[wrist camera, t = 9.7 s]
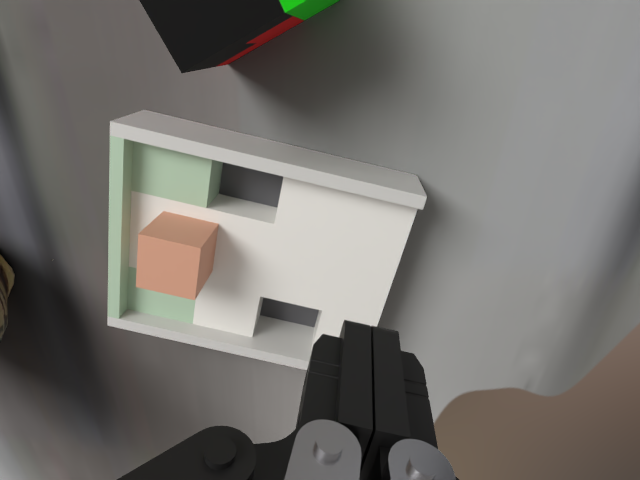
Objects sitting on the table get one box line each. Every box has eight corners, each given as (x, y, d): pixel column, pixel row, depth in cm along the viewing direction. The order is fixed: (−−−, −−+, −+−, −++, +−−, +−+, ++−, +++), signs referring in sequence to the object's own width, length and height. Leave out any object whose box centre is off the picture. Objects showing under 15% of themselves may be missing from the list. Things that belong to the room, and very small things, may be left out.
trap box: (417, 175, 36) (427, 197, 31) (360, 343, 44) (361, 382, 39) (144, 109, 35) (110, 121, 30) (136, 292, 43) (107, 325, 38)
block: (218, 223, 35) (200, 248, 31) (212, 271, 37) (194, 300, 33) (163, 210, 35) (138, 233, 30) (160, 259, 36) (135, 286, 32)
